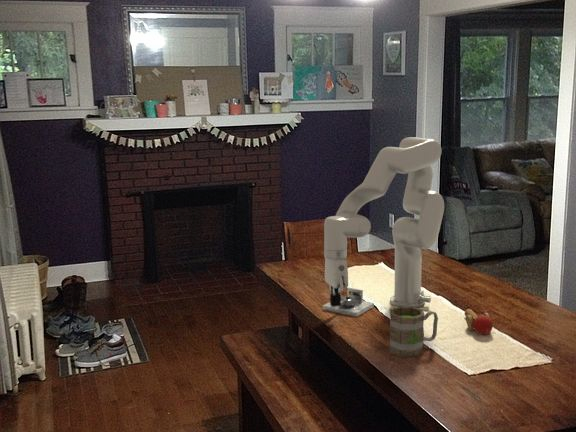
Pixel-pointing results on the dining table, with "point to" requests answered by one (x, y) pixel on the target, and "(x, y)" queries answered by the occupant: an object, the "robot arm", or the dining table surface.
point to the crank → (346, 301)
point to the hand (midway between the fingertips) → (335, 305)
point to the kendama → (478, 322)
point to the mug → (409, 330)
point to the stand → (352, 310)
